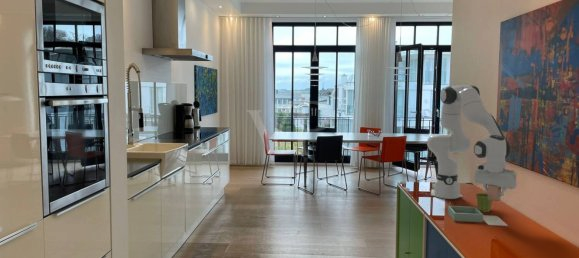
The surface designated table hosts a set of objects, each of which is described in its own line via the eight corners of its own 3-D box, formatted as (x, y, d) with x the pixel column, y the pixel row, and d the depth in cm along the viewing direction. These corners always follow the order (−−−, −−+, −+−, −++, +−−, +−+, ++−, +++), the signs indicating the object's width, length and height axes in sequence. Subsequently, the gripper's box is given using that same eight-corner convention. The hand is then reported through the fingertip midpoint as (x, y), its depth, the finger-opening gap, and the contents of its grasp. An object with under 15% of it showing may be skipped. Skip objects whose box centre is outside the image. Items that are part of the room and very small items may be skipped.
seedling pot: (485, 197, 217) (486, 183, 216) (498, 198, 216) (498, 184, 216) (489, 200, 211) (490, 186, 211) (502, 201, 210) (503, 186, 210)
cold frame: (447, 212, 228) (448, 205, 227) (474, 214, 226) (475, 206, 225) (453, 220, 214) (454, 213, 214) (482, 222, 212) (483, 214, 212)
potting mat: (479, 215, 223) (479, 215, 223) (496, 216, 222) (496, 215, 222) (488, 224, 208) (488, 224, 208) (507, 225, 206) (507, 225, 206)
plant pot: (495, 213, 227) (496, 197, 226) (477, 212, 229) (477, 197, 228) (491, 208, 236) (491, 193, 235) (473, 207, 238) (473, 192, 237)
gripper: (519, 170, 206) (518, 197, 207) (479, 164, 222) (478, 189, 223) (513, 171, 202) (511, 199, 203) (473, 165, 218) (472, 191, 220)
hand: (494, 194), depth 214 cm, fingers closed on seedling pot, 6 cm apart
